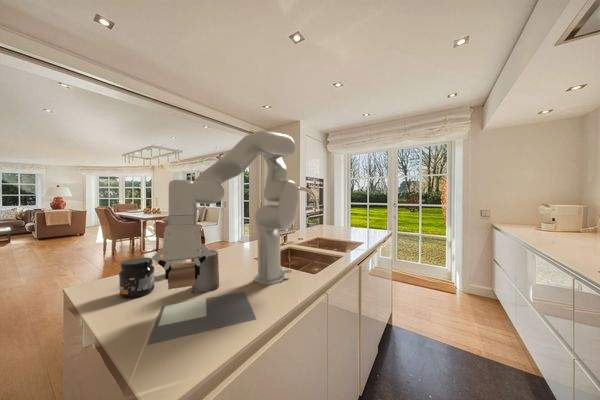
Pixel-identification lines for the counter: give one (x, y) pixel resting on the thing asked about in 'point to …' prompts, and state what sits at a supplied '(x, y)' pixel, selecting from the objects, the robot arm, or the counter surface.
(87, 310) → the counter surface
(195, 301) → the mat
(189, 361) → the counter surface
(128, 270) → the supplement container
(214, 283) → the pillar candle
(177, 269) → the brown rectangular block
